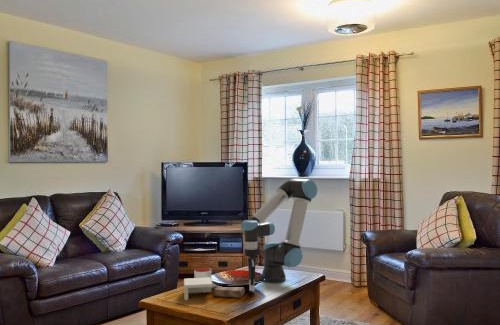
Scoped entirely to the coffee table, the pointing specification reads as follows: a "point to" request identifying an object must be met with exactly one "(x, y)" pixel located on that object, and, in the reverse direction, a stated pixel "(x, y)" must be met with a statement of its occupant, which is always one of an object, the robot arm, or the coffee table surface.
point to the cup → (202, 273)
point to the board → (229, 291)
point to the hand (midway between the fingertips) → (251, 290)
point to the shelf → (196, 285)
